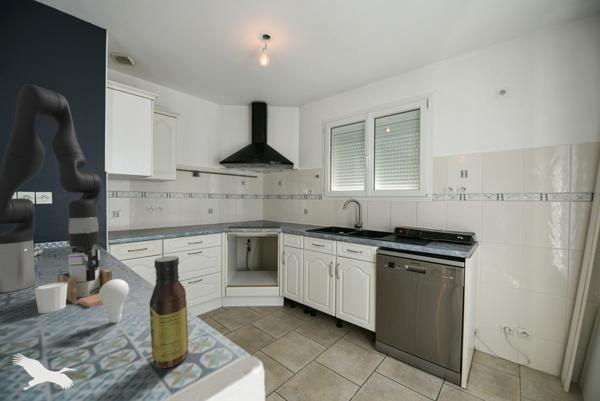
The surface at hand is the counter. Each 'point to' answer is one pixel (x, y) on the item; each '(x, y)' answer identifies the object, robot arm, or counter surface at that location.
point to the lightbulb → (114, 298)
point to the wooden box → (71, 284)
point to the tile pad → (91, 300)
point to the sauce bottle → (168, 315)
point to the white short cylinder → (51, 297)
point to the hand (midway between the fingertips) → (85, 278)
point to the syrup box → (83, 275)
